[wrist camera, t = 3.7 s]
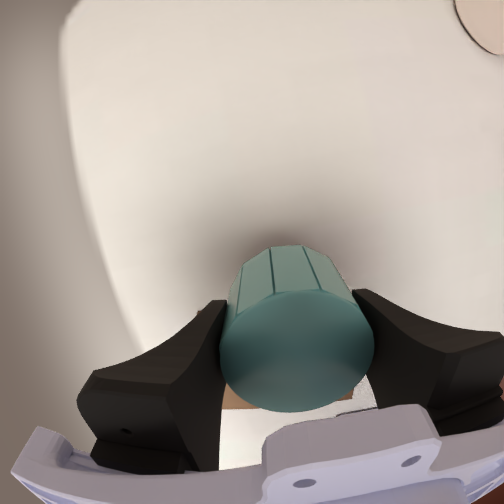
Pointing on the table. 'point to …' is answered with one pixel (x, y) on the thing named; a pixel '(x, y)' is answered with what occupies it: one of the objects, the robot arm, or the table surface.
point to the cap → (293, 332)
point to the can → (484, 22)
